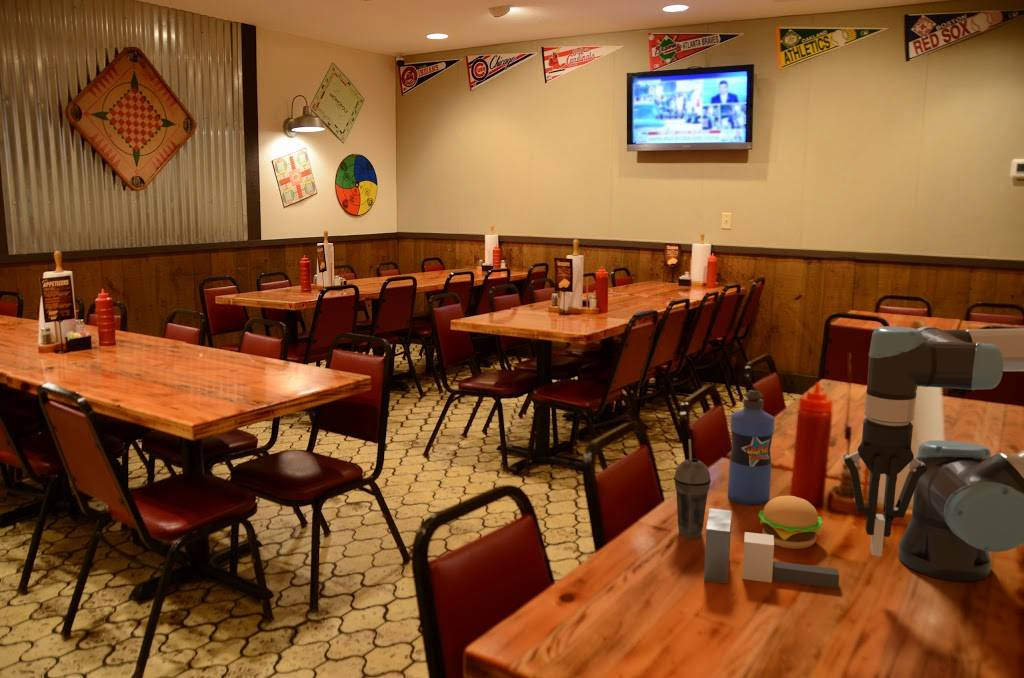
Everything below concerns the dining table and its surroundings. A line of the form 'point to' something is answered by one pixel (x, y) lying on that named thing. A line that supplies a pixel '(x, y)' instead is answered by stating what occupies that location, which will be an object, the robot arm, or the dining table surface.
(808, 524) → the hamburger
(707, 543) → the grey slab
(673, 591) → the dining table surface
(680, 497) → the beverage cup
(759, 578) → the beige and grey hammer
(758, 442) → the water bottle
